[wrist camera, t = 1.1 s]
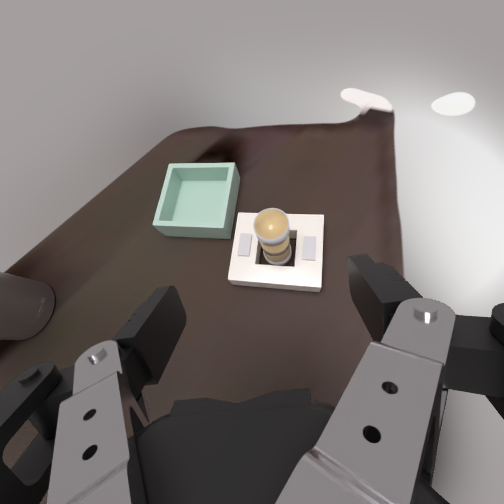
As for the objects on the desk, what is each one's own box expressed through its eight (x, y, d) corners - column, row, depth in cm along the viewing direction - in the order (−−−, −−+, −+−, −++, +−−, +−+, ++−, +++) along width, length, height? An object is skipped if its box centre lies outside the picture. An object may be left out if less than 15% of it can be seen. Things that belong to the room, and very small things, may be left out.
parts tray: (165, 235, 41) (152, 225, 37) (180, 178, 45) (169, 163, 41) (230, 239, 39) (223, 228, 35) (240, 178, 42) (234, 162, 39)
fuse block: (233, 284, 36) (226, 278, 33) (242, 221, 39) (237, 211, 36) (319, 292, 34) (321, 286, 31) (322, 224, 37) (324, 213, 34)
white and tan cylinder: (263, 266, 36) (251, 239, 27) (266, 241, 38) (255, 207, 28) (290, 268, 36) (287, 241, 26) (292, 242, 37) (290, 208, 28)
